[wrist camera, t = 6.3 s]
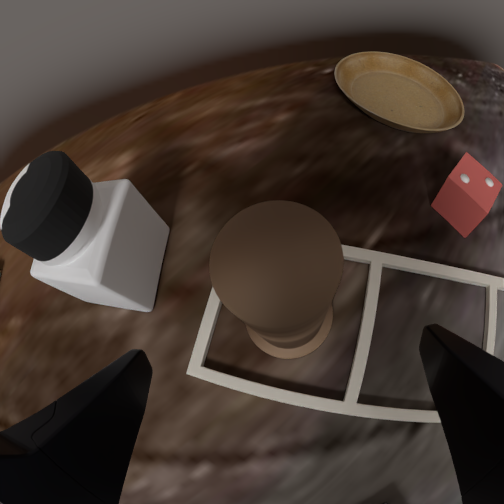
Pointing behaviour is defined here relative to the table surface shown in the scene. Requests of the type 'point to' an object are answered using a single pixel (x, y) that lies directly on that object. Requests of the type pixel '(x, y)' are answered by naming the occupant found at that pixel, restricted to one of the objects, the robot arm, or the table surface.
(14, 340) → the table surface
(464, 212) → the red die
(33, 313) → the table surface
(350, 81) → the plant saucer
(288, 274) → the brown flanged cylinder
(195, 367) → the track
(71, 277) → the medicine bottle
